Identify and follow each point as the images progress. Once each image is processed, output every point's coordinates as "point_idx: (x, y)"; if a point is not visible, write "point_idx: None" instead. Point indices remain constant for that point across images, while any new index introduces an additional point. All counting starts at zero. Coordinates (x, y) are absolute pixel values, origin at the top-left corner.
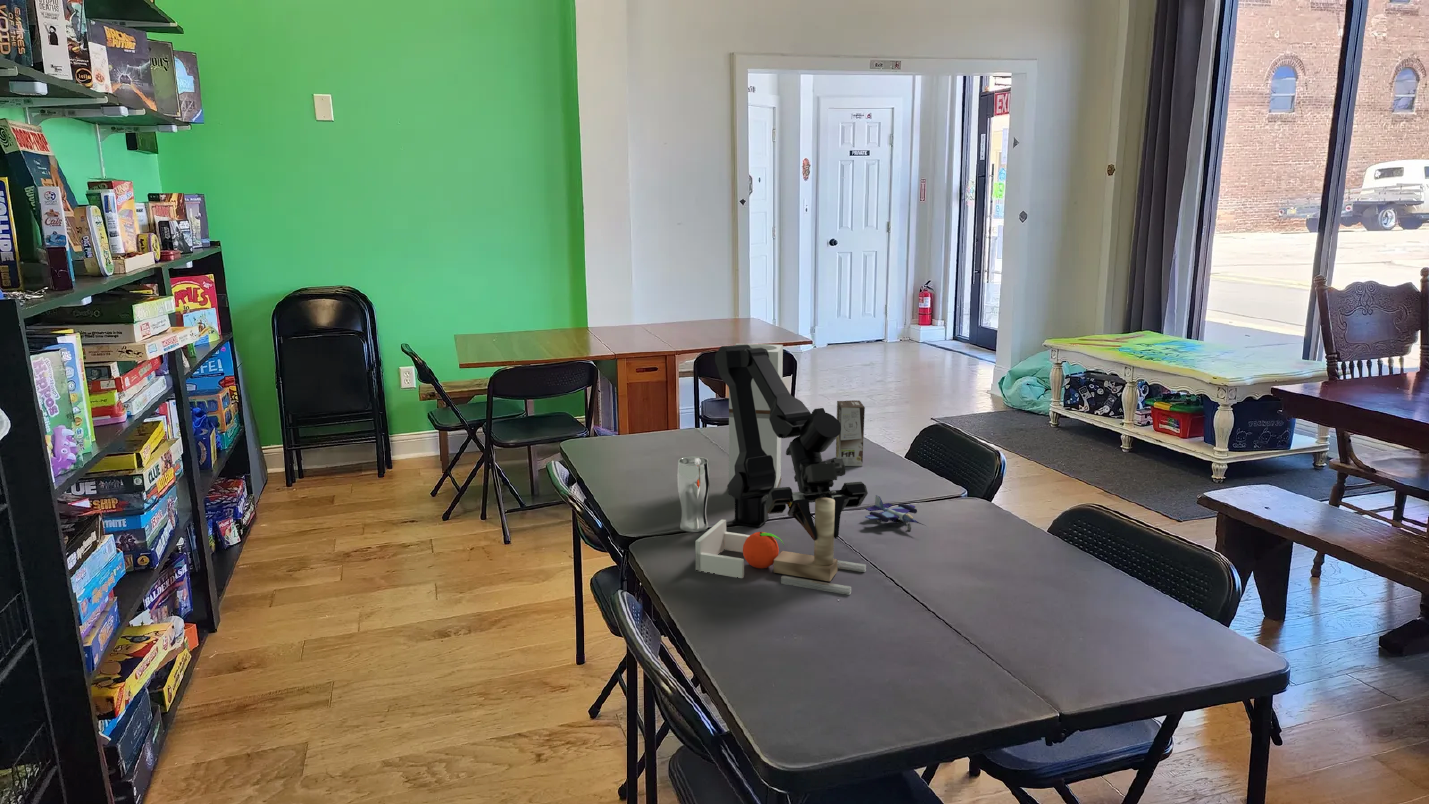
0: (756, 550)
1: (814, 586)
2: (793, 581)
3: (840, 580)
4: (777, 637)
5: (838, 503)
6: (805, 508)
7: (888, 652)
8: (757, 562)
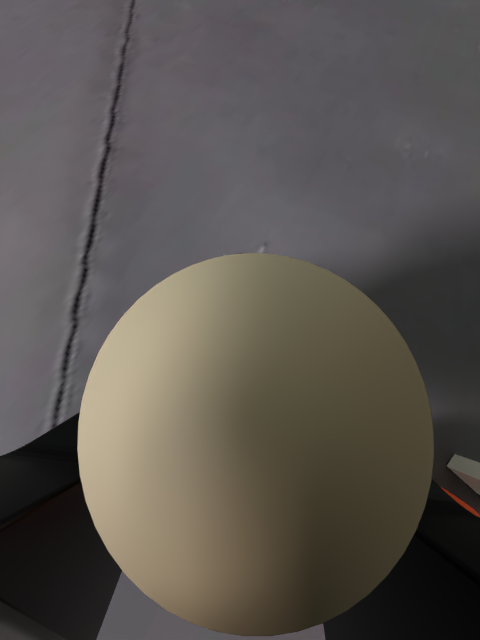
0: (475, 511)
1: None
2: None
3: None
4: (439, 156)
5: (11, 478)
6: (443, 522)
7: (274, 59)
8: None
